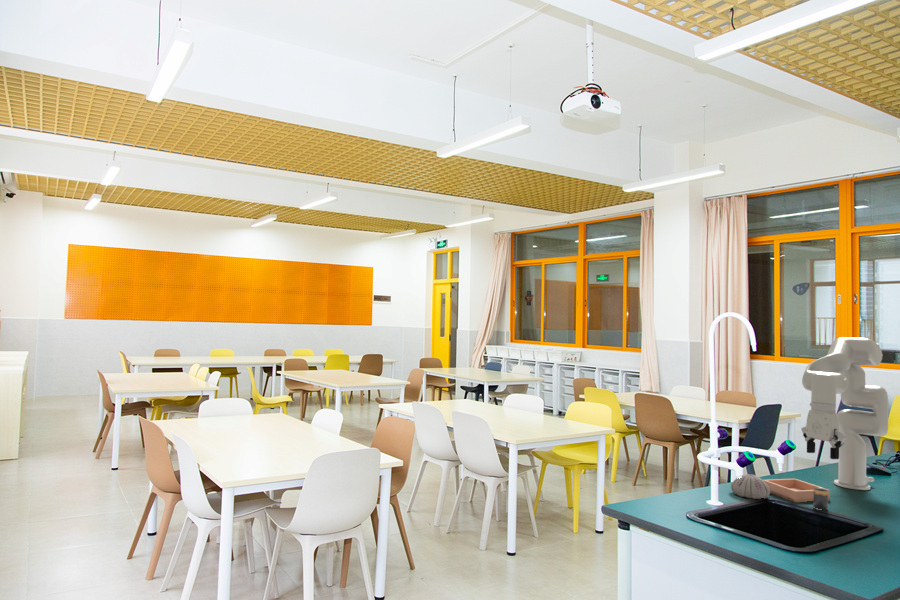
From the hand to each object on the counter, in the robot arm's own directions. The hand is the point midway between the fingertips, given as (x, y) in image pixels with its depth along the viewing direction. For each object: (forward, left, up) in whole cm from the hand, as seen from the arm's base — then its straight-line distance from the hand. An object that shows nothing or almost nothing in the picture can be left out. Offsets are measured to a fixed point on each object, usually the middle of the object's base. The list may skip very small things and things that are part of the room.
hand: (822, 455), depth 209 cm
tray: (-5, -16, -19) cm, 26 cm away
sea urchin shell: (+14, -18, -19) cm, 30 cm away
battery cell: (0, 0, -19) cm, 19 cm away
